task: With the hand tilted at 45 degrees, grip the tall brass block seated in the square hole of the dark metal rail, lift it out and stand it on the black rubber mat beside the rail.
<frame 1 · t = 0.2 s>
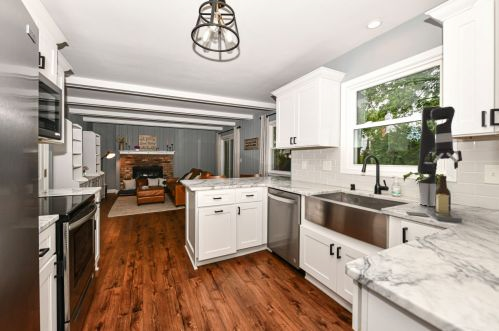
hand: (445, 169, 126), 29 cm above the countertop, tool pointing down, fingers open, 8 cm apart
brass nut block: (442, 205, 129), in the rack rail
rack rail: (442, 216, 129), on the countertop
rubber mat: (417, 214, 135), on the countertop
beer bottle: (442, 211, 144), on the countertop
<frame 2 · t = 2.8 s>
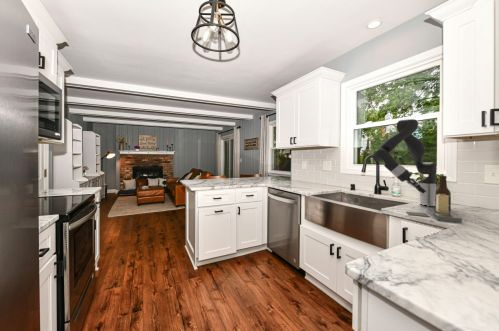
hand: (423, 191, 133), 15 cm above the countertop, tool tilted 45°, fingers open, 8 cm apart
nothing on the countertop moved.
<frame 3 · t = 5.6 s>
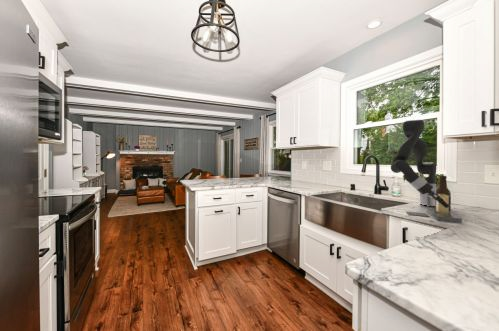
hand: (446, 206, 128), 7 cm above the countertop, tool tilted 45°, fingers closed on brass nut block, 4 cm apart
brass nut block: (442, 205, 129), in the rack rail, touching gripper
everything else where it was.
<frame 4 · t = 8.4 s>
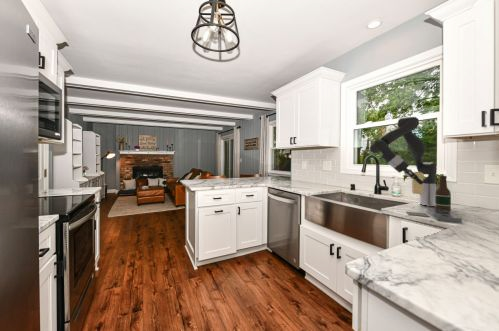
hand: (421, 183, 134), 20 cm above the countertop, tool tilted 45°, fingers closed on brass nut block, 4 cm apart
brass nut block: (417, 182, 135), point 20 cm above the countertop, touching gripper
everything else where it was.
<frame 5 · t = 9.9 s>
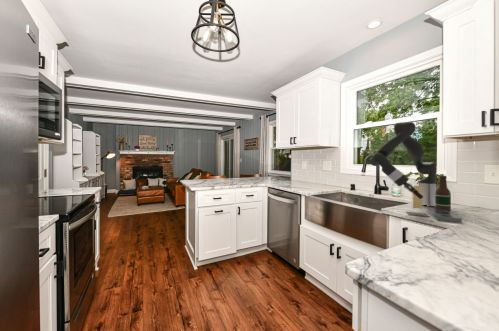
hand: (420, 197, 134), 11 cm above the countertop, tool tilted 45°, fingers closed on brass nut block, 4 cm apart
brass nut block: (417, 196, 135), point 11 cm above the countertop, touching gripper
everything else where it was.
when the fingers open (8 cm above the countertop, at t = 10.9 s): brass nut block drops 1 cm, resting on rubber mat.
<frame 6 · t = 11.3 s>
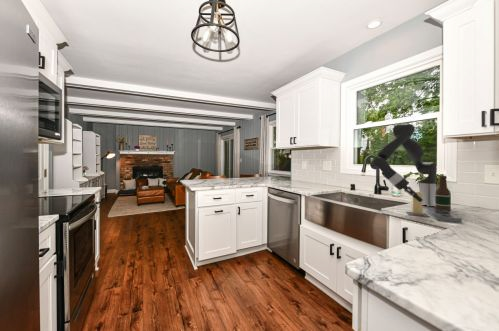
hand: (420, 200, 134), 9 cm above the countertop, tool tilted 45°, fingers open, 8 cm apart
brass nut block: (417, 203, 135), on the rubber mat
everything else where it was.
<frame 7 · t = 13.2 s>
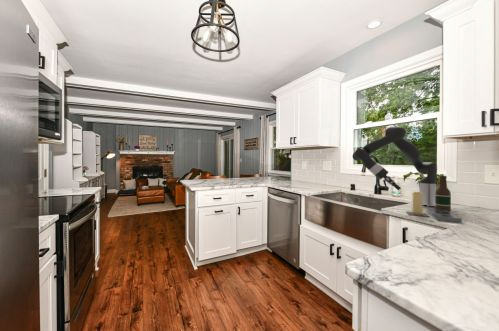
hand: (398, 188, 141), 16 cm above the countertop, tool tilted 45°, fingers open, 8 cm apart
nothing on the countertop moved.
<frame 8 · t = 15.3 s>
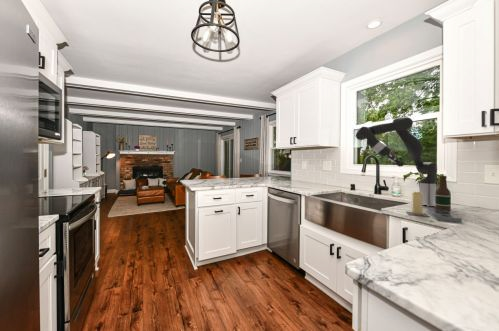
hand: (401, 165, 143), 31 cm above the countertop, tool tilted 45°, fingers open, 8 cm apart
nothing on the countertop moved.
at the end: brass nut block inside the target area (0.1 cm from its centre), resting on rubber mat; brass nut block tilted 0°; the gripper is holding nothing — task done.
